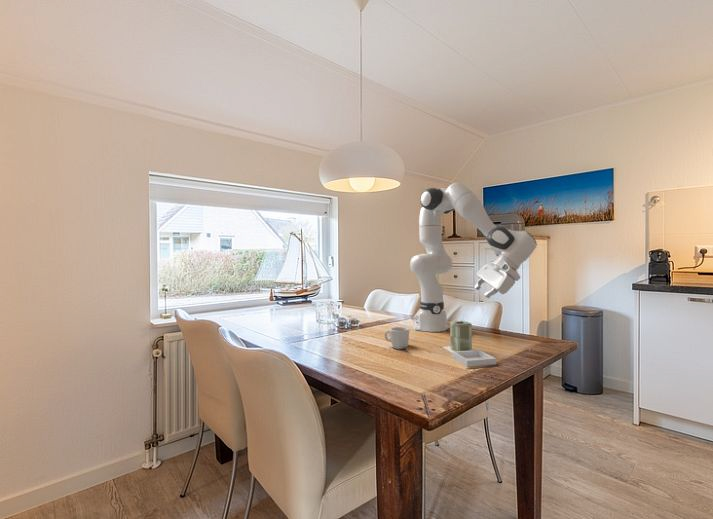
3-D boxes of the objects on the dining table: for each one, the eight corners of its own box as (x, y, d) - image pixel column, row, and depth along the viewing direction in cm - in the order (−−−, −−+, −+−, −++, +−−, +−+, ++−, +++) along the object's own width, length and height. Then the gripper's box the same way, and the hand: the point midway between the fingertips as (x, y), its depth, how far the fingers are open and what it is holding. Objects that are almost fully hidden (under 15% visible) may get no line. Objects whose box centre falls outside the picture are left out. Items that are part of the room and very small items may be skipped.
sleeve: (450, 348, 143) (450, 321, 142) (464, 347, 144) (464, 320, 144) (457, 352, 137) (457, 324, 137) (471, 351, 138) (471, 323, 138)
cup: (381, 348, 149) (381, 329, 149) (388, 343, 156) (388, 325, 156) (405, 351, 144) (405, 331, 144) (412, 346, 151) (411, 327, 151)
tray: (452, 359, 132) (452, 351, 132) (479, 357, 134) (479, 349, 134) (467, 369, 121) (466, 360, 121) (496, 366, 123) (496, 358, 123)
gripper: (487, 255, 152) (465, 280, 154) (511, 269, 133) (486, 297, 135) (496, 264, 154) (475, 288, 156) (522, 279, 134) (497, 306, 136)
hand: (480, 292), depth 145 cm, fingers open, 8 cm apart
